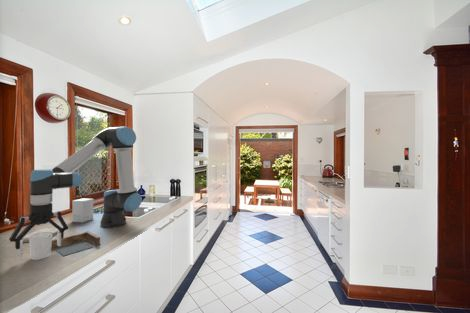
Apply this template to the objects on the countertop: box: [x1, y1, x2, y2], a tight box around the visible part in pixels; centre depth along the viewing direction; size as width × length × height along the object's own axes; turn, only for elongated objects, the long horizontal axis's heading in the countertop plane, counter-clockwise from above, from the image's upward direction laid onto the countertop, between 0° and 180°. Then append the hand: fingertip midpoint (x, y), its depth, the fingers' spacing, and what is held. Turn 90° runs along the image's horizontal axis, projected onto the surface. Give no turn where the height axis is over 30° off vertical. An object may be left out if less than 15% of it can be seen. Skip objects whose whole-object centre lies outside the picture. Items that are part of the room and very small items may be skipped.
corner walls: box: [51, 230, 101, 250], centre depth 107 cm, size 16×14×4 cm
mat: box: [54, 240, 93, 257], centre depth 105 cm, size 12×12×1 cm
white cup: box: [28, 232, 53, 261], centre depth 97 cm, size 8×8×10 cm
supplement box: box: [71, 198, 94, 223], centre depth 151 cm, size 9×9×15 cm
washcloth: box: [21, 227, 59, 243], centre depth 121 cm, size 12×18×3 cm, turn 9°
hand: (40, 250), depth 97 cm, fingers open, 12 cm apart
